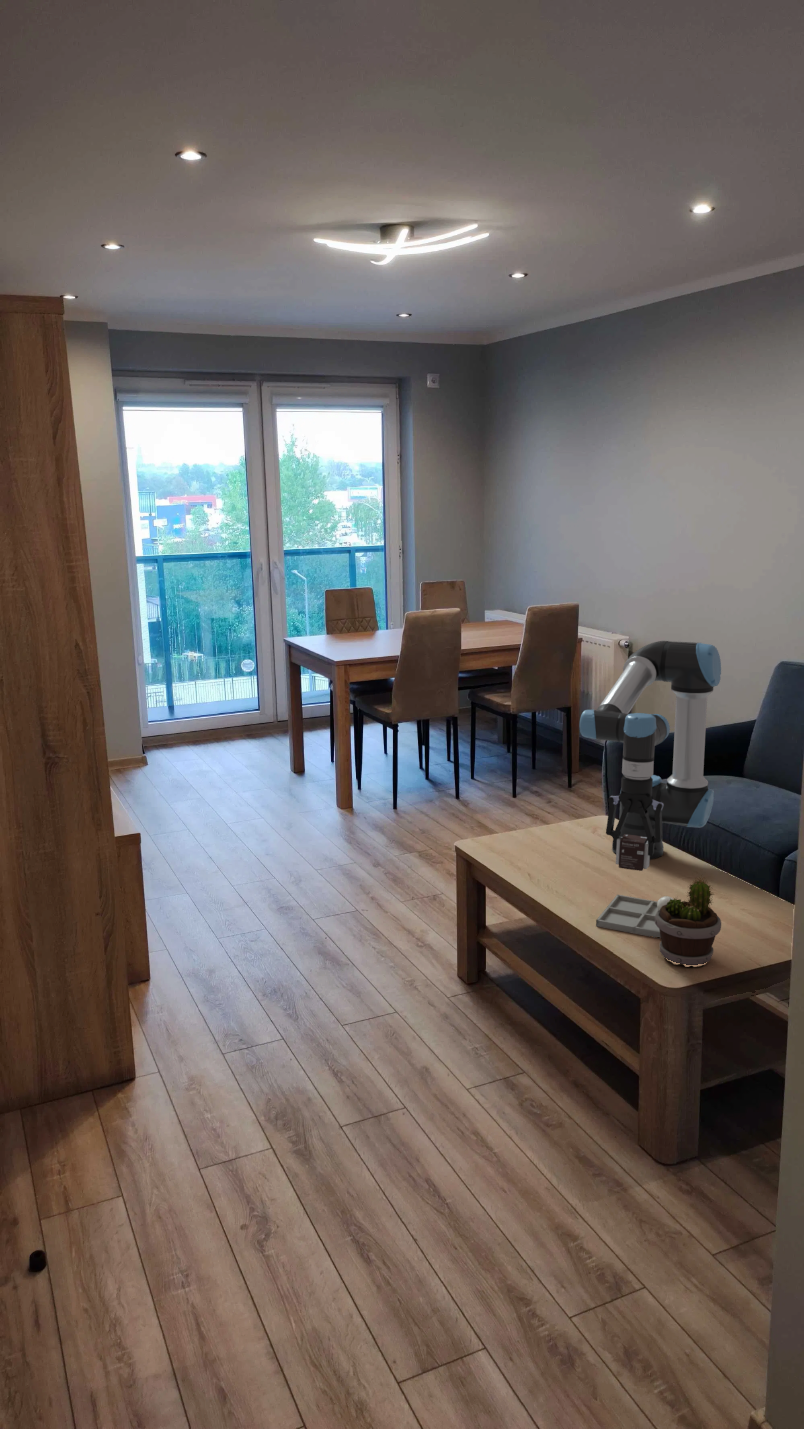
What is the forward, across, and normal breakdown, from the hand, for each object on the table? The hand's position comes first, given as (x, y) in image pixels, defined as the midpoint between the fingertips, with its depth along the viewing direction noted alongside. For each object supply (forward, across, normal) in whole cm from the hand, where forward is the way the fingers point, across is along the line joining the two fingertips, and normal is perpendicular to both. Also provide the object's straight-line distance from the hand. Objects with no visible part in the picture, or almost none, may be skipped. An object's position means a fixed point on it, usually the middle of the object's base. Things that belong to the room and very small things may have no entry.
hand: (632, 864), depth 254 cm
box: (+1, 0, 0) cm, 1 cm away
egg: (+14, +8, +5) cm, 17 cm away
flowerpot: (+15, +18, -18) cm, 29 cm away
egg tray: (+14, +4, 0) cm, 14 cm away
